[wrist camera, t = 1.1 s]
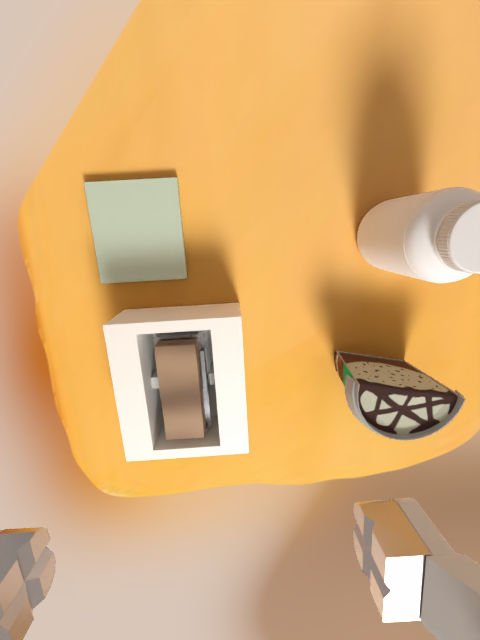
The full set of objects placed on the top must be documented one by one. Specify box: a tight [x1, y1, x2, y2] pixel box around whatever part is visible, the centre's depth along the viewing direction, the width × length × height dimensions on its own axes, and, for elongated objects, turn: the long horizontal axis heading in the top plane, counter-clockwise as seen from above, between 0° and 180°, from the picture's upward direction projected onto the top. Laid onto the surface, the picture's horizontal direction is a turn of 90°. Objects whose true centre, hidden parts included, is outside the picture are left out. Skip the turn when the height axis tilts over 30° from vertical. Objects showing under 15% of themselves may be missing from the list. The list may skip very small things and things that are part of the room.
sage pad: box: [84, 177, 188, 284], centre depth 36 cm, size 11×10×1 cm
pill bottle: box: [357, 187, 480, 283], centre depth 30 cm, size 8×8×15 cm
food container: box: [334, 351, 466, 440], centre depth 37 cm, size 12×6×10 cm, turn 81°
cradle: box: [154, 330, 212, 432], centre depth 37 cm, size 12×5×2 cm, turn 3°
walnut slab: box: [154, 337, 206, 440], centre depth 35 cm, size 11×4×3 cm, turn 3°
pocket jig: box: [103, 303, 249, 462], centre depth 38 cm, size 16×14×7 cm
